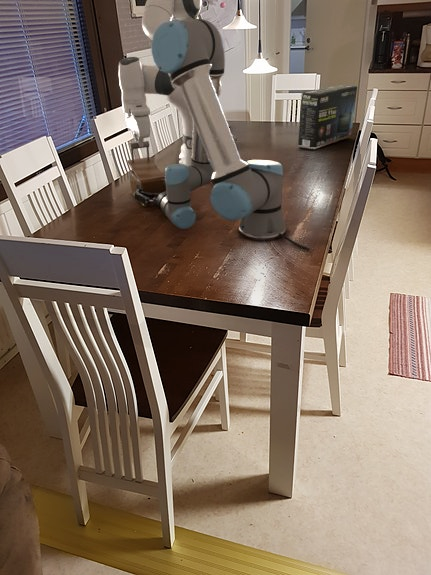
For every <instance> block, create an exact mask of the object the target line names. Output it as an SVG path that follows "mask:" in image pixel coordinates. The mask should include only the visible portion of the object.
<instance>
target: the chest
mask: <svg viewBox="0 0 431 575" xmlns="http://www.w3.org/2000/svg"><path fill="white" fill-rule="evenodd" d="M128 175H129V176H128V177H129V182H130V183H129V184H130V189H131V194H132V196H133V197H135V194H134V193H135V192H137V191H136V190H137V187H136V185H139V186H140V187H141V188H142V189H143V191H144V192H148V193H152V194H153V193H158V194H159V193H160V194H161V193H162V192H165V191H166V183H165V179H161V180H155V181H149V182H143V183H140V181H139V179H138V178H137V176H136V175H135V173H134V172H133V170H129V171H128ZM138 203H139V204H140V205H141V206H142V207H144V208H147V206H146V205H145V204H144V203H142V202H140V201H138ZM150 206H151V207H153V206H156V205H155V204H154V203H151V204H150ZM150 206H149V207H150Z"/></svg>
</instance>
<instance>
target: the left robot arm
mask: <svg viewBox="0 0 431 575" xmlns="http://www.w3.org/2000/svg"><path fill="white" fill-rule="evenodd" d="M202 5H203V0H146V2H145V5H144V8H143V12H142V16H141V27H142V30H143V33H144V34H145V35H146V37H148V39H149V40H151V41H153V35H154V33H155V31H156V29H157V28H158V27H159V26H160V25H161V24H163V23H165V22H170V21H172V20H195V19H199V15H200V12H201V9H202ZM141 61H142V60H141V59H140V57H137V56H128V57H124V58H122V59H120V61H119V62H118V81H119V87H120V90H121V105H122V110H123V112H122V113H123V114H125V124H126V128H127V129H128V130H129V131H131V132H132V135H133V138H134V143H137V142H138V146H139V147H142V146H144V144H143V142H144V139H147V138H150V137H151V122H150V115H151V110H150V107H149V105H148V102H147V96H146V95H159V96H160V95H162V96H164V97H165V99H166V100H167V102H169V103H171V104H172V105H173V106H174V107H175V108H176V110H177V111H178V113H179V115H180V118H181V125H182V137H181V138H182V144H181V146H180V154H179V159H180V160H179V161H178V164H184V165H187V166H191V156H192V134H193V119H192V117H191V114H190V112H189V109H188V107H187V104H186V102H185V99H184V97H183V94H182V92H181V89H180V88H179V87H178V86H176V85H174V84H172V82H171V79H170V77H169V74H168V73H165V72H163V71H162V70H160V69H158V67H157V66H156V65H147V64H145V65H144V64H143V63H142V62H141ZM222 88H223V86H222V82H221V81H220V89H219V96H220V95H221V93H222Z"/></svg>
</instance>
